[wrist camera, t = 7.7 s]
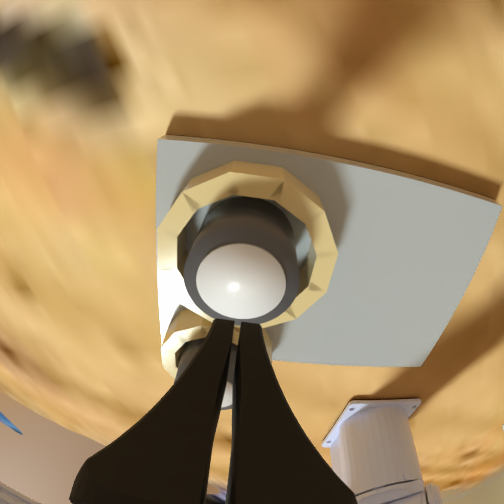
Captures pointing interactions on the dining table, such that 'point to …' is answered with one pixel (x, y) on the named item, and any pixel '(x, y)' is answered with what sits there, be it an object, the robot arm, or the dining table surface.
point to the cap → (243, 262)
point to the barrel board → (324, 252)
